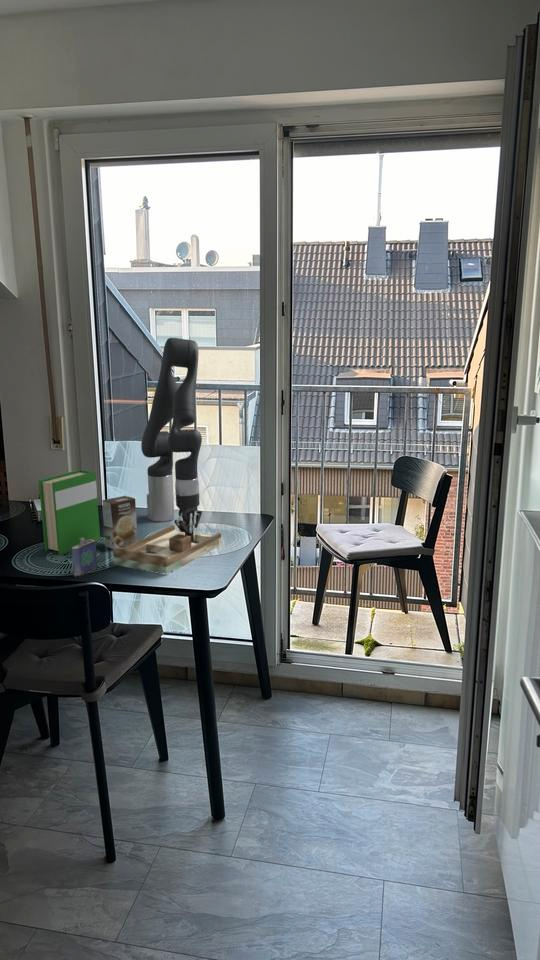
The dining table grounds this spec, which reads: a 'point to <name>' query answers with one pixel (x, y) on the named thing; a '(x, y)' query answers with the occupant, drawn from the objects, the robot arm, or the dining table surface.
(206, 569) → the dining table surface
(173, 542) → the walnut block
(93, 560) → the flask
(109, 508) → the coffee box
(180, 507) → the robot arm
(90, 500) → the hardback book
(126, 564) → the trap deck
